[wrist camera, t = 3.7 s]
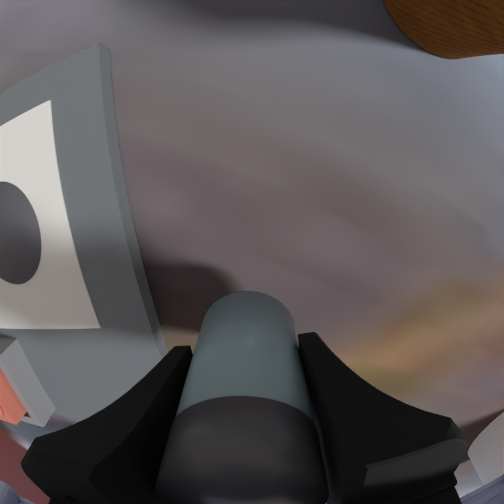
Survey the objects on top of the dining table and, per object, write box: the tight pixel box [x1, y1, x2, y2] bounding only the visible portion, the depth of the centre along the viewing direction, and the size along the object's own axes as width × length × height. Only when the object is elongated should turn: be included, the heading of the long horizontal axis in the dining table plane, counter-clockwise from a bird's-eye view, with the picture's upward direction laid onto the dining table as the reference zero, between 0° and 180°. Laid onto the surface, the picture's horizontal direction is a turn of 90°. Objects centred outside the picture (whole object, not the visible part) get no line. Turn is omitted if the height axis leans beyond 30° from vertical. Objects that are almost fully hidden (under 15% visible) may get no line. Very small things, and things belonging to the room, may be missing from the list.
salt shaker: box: [155, 291, 329, 504], centre depth 9 cm, size 4×4×8 cm
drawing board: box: [0, 43, 169, 427], centre depth 14 cm, size 22×18×3 cm
